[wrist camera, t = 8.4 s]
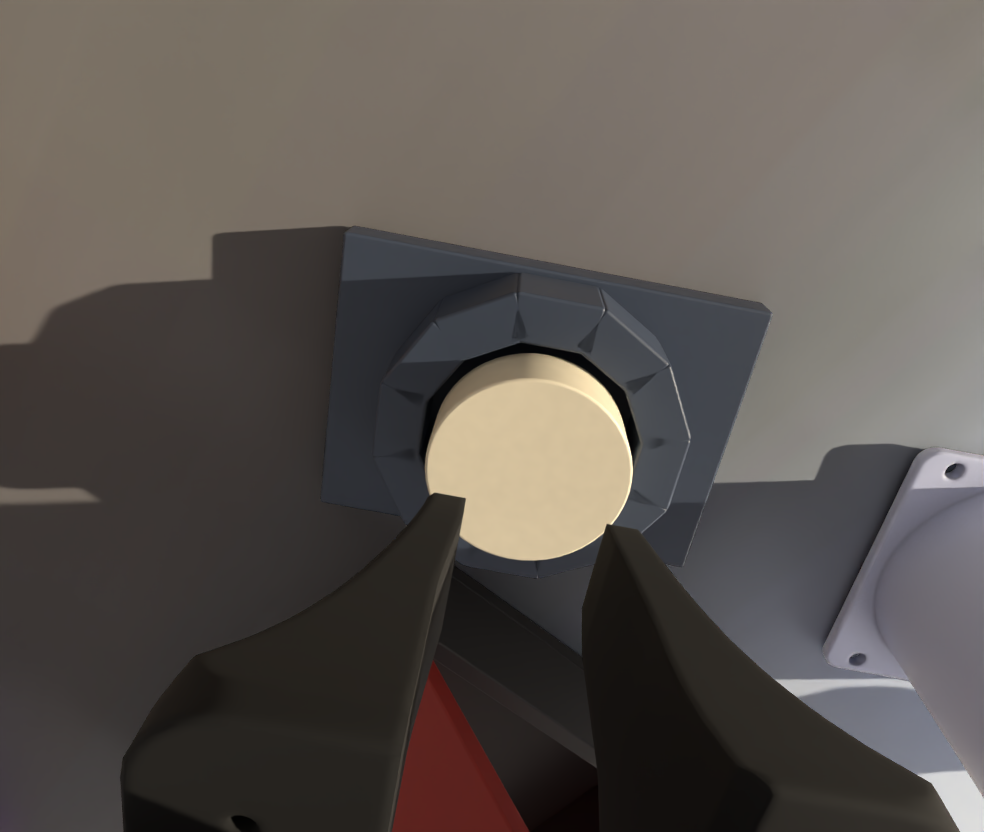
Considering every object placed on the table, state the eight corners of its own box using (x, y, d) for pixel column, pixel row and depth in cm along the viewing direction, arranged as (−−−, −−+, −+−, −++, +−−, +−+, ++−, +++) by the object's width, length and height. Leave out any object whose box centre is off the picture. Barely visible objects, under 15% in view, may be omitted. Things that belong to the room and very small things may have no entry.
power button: (646, 372, 17) (657, 401, 15) (599, 536, 19) (605, 577, 17) (449, 335, 17) (440, 360, 15) (422, 504, 19) (411, 542, 17)
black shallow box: (679, 725, 25) (700, 820, 22) (418, 913, 31) (404, 1012, 27) (431, 548, 23) (413, 625, 19) (194, 786, 28) (149, 878, 25)
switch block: (763, 302, 19) (802, 338, 16) (677, 549, 22) (697, 613, 19) (352, 224, 19) (320, 247, 16) (328, 485, 22) (298, 541, 19)
